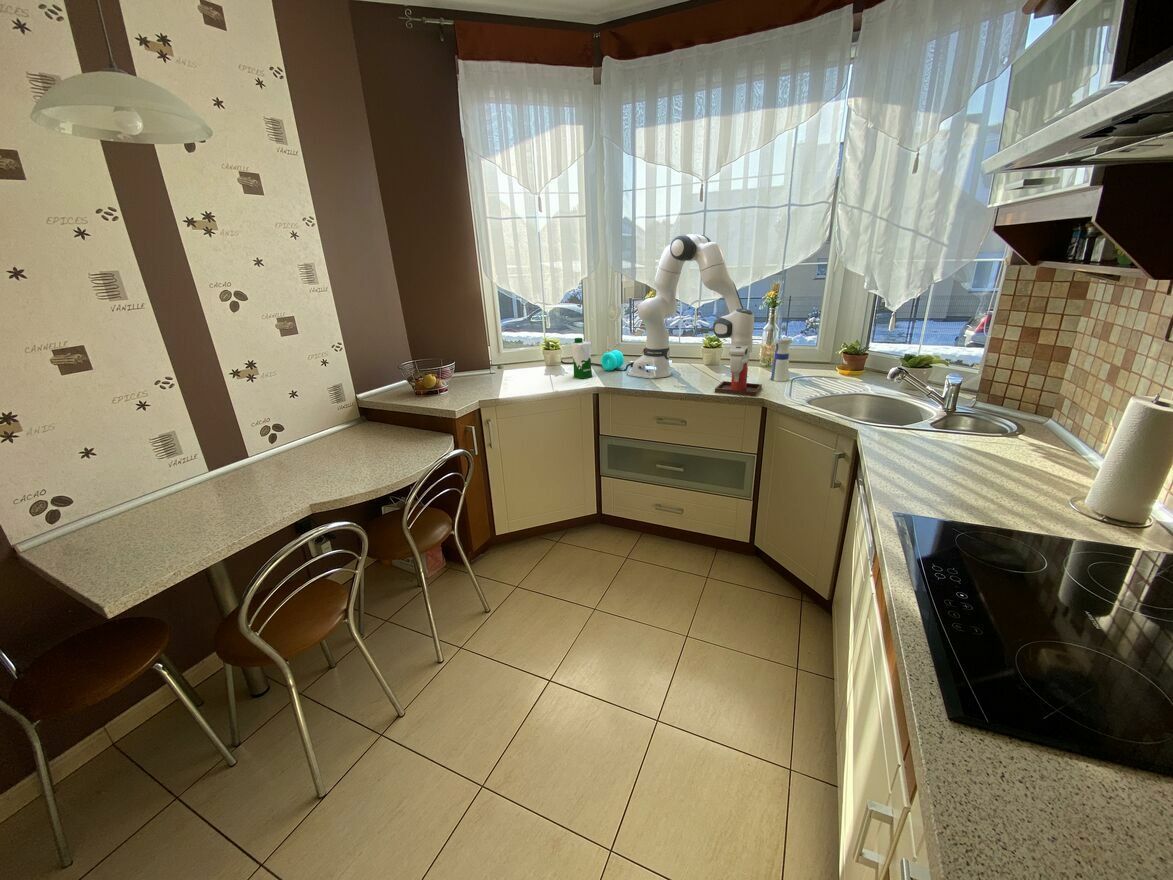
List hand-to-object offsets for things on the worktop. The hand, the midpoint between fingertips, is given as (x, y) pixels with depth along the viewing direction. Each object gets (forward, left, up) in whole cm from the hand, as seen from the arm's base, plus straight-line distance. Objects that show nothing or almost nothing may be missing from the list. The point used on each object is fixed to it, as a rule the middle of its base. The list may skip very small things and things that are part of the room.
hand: (739, 378), depth 212 cm
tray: (0, 0, -5) cm, 5 cm away
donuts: (-73, +20, -6) cm, 76 cm away
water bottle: (+13, +26, -6) cm, 30 cm away
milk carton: (-80, -1, -6) cm, 80 cm away
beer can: (0, 0, -5) cm, 5 cm away
